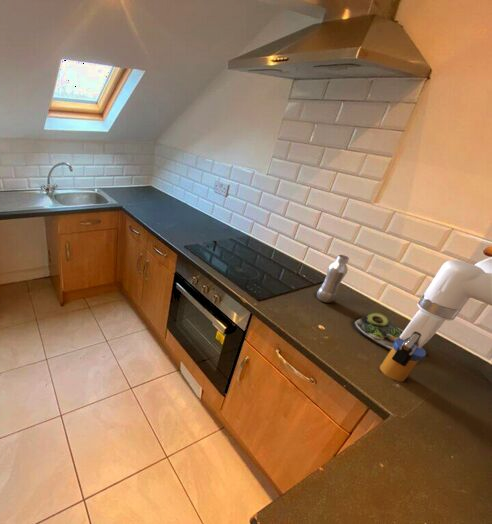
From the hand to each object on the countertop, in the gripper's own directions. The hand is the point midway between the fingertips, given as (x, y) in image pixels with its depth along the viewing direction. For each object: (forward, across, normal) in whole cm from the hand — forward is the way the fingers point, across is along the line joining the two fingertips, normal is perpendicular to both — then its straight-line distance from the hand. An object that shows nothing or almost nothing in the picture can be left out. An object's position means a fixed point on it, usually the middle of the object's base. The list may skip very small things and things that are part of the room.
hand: (403, 357), depth 85 cm
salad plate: (+8, -20, -9) cm, 23 cm away
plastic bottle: (+8, -22, -31) cm, 39 cm away
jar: (+7, 0, 0) cm, 7 cm away
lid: (-3, 0, 0) cm, 3 cm away
